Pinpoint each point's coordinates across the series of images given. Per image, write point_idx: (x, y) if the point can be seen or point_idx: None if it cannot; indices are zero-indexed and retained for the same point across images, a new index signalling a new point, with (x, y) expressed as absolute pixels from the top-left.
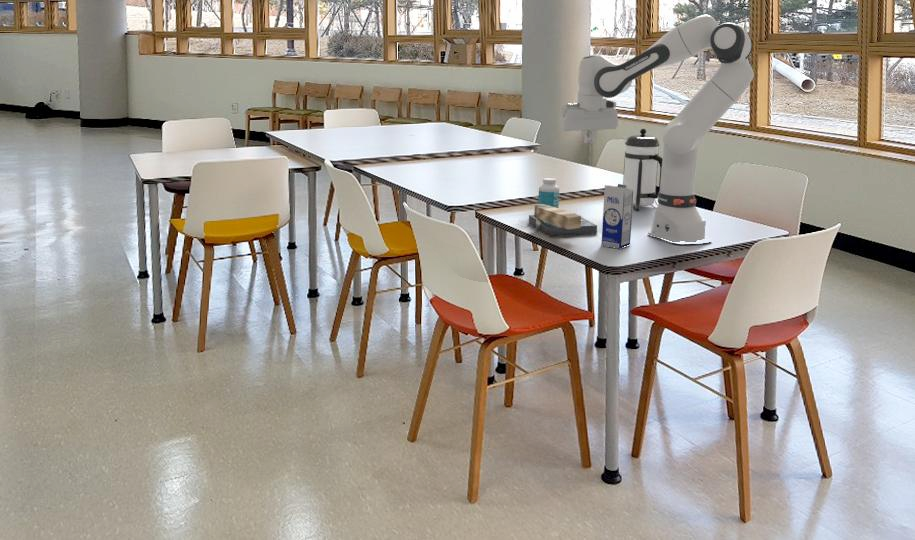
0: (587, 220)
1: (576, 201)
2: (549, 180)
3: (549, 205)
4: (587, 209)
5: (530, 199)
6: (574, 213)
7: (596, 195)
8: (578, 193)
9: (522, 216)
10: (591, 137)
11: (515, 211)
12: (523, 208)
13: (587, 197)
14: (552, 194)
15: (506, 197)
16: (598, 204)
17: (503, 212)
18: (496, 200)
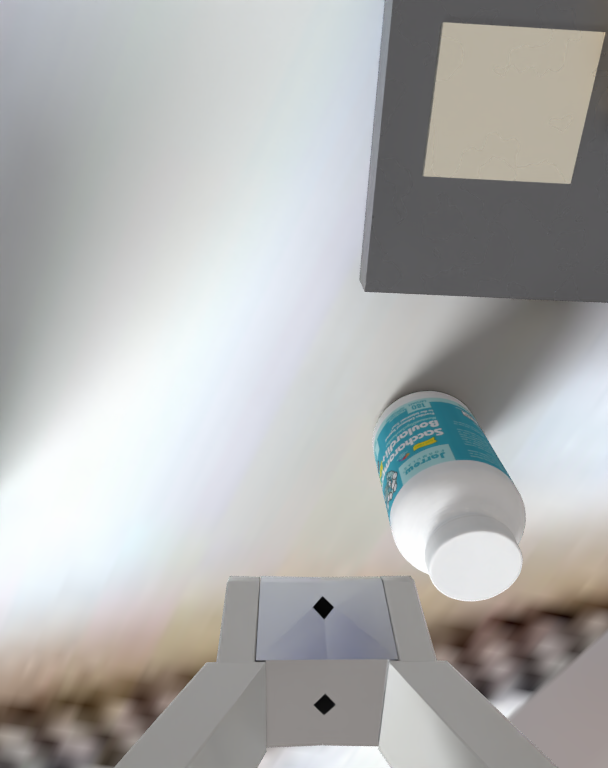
0: (390, 50)
1: (155, 641)
2: (500, 532)
3: (460, 420)
4: (167, 501)
5: None
6: (369, 277)
7: (22, 712)
8: (90, 750)
9: (553, 443)
10: (262, 700)
11: (523, 538)
12: None
13: (76, 690)
14: (463, 451)
15: None
16: (73, 575)
17: (587, 532)
18: None
